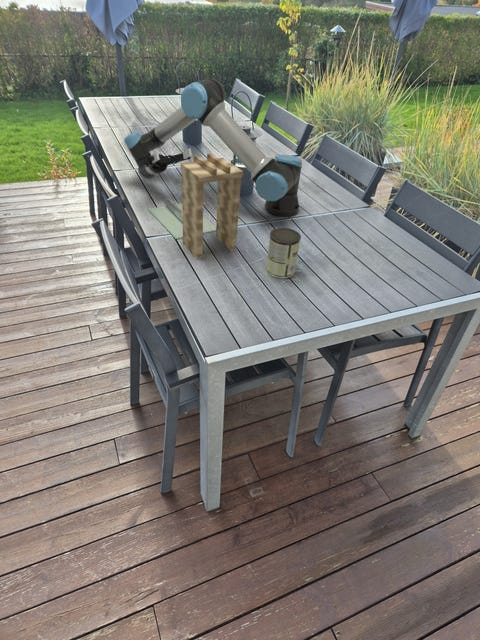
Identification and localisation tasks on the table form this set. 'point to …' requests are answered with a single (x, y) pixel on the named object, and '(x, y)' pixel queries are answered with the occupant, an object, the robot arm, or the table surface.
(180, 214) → the steel rod
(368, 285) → the table surface
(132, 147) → the robot arm
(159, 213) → the sage mat
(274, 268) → the coffee can
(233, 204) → the oak bridge
